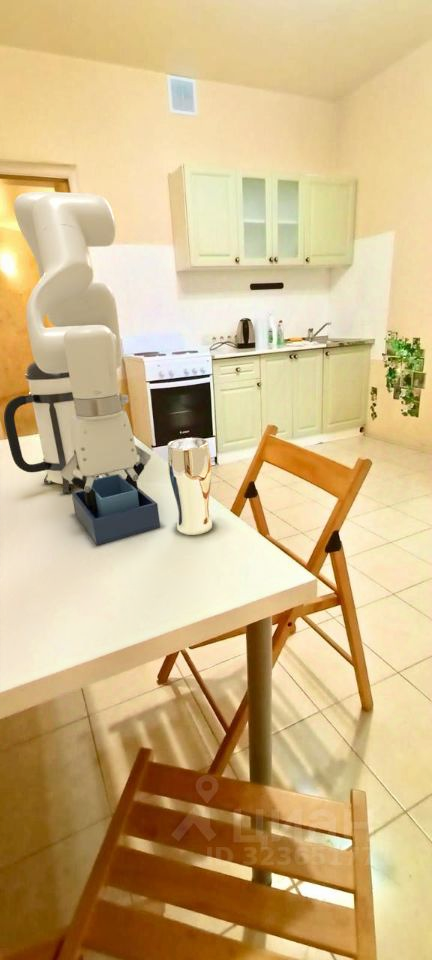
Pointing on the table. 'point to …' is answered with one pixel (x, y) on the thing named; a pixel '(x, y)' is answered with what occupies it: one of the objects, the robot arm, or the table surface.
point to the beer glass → (191, 483)
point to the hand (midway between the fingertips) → (113, 504)
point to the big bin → (117, 519)
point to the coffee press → (46, 424)
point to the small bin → (114, 495)
